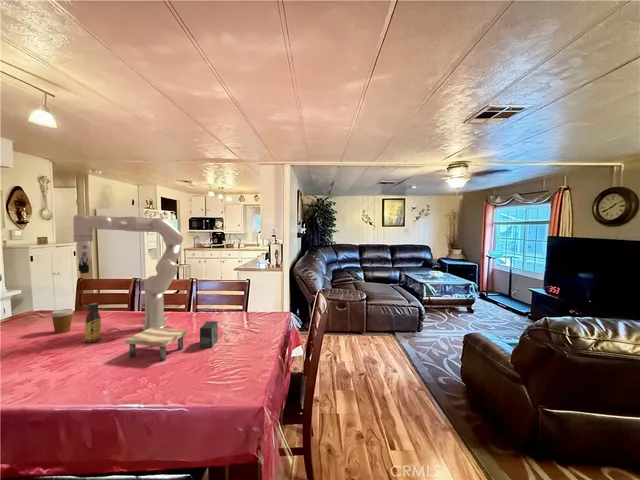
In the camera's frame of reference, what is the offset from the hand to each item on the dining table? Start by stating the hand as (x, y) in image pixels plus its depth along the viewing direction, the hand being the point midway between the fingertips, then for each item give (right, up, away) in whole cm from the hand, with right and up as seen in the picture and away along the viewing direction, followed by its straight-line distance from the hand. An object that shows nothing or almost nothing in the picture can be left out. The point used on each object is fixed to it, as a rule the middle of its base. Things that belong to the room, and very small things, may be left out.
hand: (83, 271), depth 140 cm
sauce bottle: (+2, -37, +4) cm, 38 cm away
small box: (+64, -39, +3) cm, 74 cm away
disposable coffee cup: (-26, -36, +15) cm, 47 cm away
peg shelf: (+43, -38, -9) cm, 58 cm away
